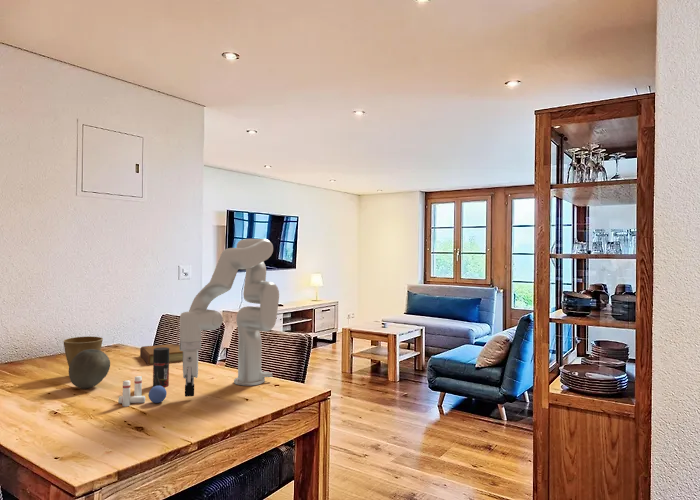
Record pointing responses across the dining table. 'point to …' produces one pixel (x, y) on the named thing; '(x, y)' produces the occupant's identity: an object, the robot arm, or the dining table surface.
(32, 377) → the dining table surface
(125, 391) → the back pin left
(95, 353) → the grey rock
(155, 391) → the ball
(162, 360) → the deodorant
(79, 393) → the dining table surface
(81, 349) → the plant pot
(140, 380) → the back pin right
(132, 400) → the front pin
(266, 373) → the robot arm
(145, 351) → the diary
